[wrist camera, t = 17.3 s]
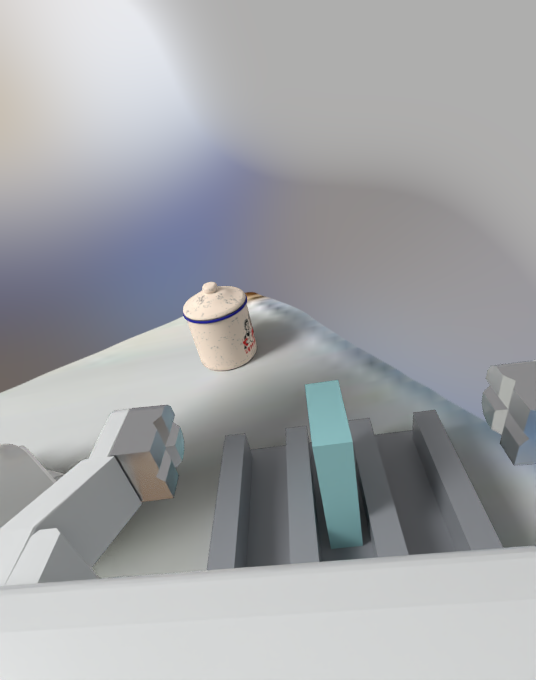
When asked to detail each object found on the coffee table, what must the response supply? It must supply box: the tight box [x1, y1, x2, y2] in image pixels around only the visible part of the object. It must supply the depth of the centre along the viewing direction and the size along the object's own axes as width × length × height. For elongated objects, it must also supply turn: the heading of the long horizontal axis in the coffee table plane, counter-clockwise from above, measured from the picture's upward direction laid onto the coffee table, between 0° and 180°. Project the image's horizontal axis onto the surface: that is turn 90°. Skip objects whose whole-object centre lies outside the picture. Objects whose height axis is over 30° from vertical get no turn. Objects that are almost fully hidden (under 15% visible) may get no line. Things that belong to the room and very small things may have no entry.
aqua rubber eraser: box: [305, 380, 363, 549], centre depth 30 cm, size 2×6×12 cm, turn 0°
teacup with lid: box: [183, 282, 257, 371], centre depth 57 cm, size 12×9×12 cm
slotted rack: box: [207, 410, 503, 570], centre depth 32 cm, size 20×16×5 cm
